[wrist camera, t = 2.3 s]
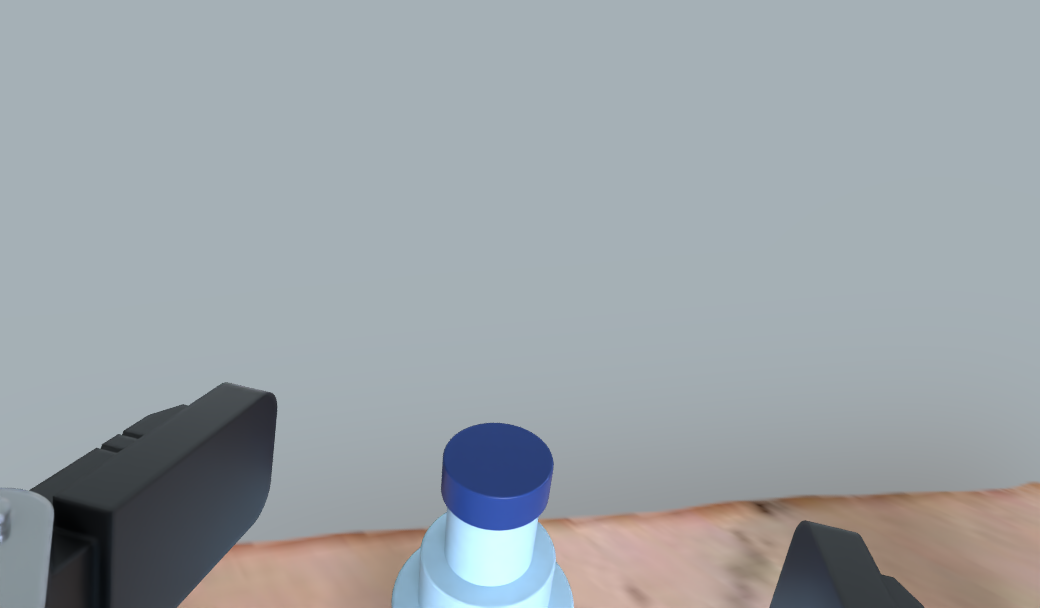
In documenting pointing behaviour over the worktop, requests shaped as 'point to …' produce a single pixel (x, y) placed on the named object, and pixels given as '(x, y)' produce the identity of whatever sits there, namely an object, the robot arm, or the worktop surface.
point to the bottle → (488, 528)
